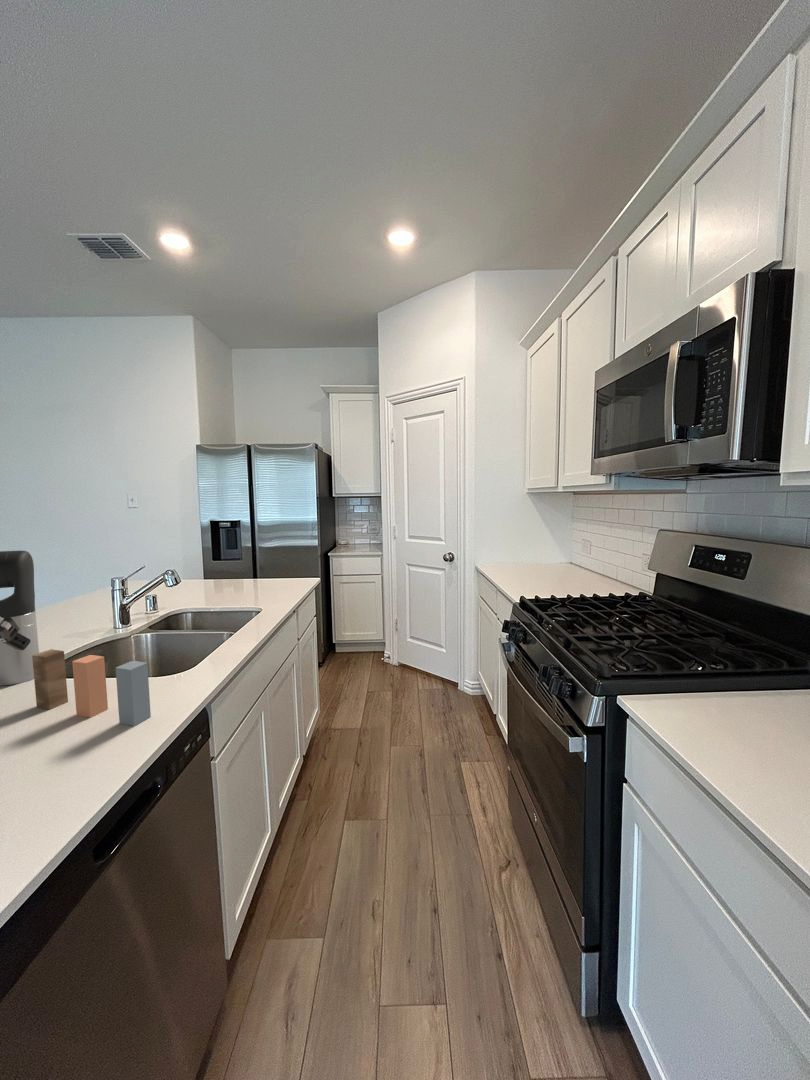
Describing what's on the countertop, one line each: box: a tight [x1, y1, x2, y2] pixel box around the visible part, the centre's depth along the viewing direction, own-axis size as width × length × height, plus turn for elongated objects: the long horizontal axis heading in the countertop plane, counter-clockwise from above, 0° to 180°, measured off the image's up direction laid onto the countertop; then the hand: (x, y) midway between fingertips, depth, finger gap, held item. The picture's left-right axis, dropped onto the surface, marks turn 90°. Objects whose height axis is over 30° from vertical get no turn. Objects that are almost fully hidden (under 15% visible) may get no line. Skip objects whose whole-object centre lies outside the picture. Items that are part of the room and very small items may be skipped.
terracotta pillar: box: [72, 654, 109, 718], centre depth 96 cm, size 4×4×12 cm
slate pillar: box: [115, 660, 152, 727], centre depth 93 cm, size 4×4×12 cm
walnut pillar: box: [32, 648, 69, 710], centre depth 100 cm, size 4×4×12 cm
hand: (24, 645), depth 84 cm, fingers closed
